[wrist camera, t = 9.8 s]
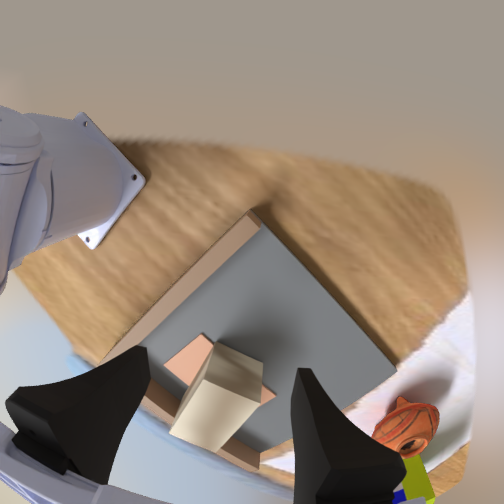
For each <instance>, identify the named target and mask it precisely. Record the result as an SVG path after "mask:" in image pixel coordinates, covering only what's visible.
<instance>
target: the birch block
mask: <svg viewBox="0 0 504 504" xmlns="http://www.w3.org/2000/svg"><path fill="white" fill-rule="evenodd" d="M262 375H263V363H262V362H260V361H257V360H255V359H253V358H251V357H248V356H246V355H244V354H242V353H240V352H238V351H236V350H234V349H231V348H229V347H227V346H225V345H223V344H221V343H219V342H217V341H216V342H215V344H214V345H213V347H212V349H211V350H210V352H209V354H208V355H207V357H206V359H205V360H204V362H203V364H202V365H201V367H200V369H199V371H198V372H197V374H196V376H195V377H194V379H193V381H192V382H191V384H190V386H189V387H188V389H187V391H186V392H185V394H184V396H183V398H182V400H181V403H180V405H179V408H178V411H177V413H176V416H175V418H174V421H173V424H172V426H171V429H170V432H169V434H171V435H174V436H176V437H178V438H180V439H183V440H185V441H187V442H190V443H192V444H195V445H197V446H200V447H202V448H205V449H207V450H210V451H213V452H215V453H216V452H217V451H218V450H219V449H220V448H221V447H222V446H223V445H224V444H225V442H226V441H227V440H228V439H229V438H230V437H231V436H232V435H233V434H234V433H235V432H236V431H237V430H238V429H239V428H240V426H241V425H242V424H243V423H244V422H245V421H246V420H247V419H248V418H249V416H250V415H251V414H252V413H253V412H254V411H255V410H256V409H257V407H258V406H259V405H260V404H261V391H262Z"/></svg>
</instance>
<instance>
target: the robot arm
mask: <svg viewBox="0 0 504 504" xmlns="http://www.w3.org/2000/svg"><path fill="white" fill-rule="evenodd" d="M86 122H88V124H87V126H86ZM135 174H136V175H137V179H136V180H134V179H133V176H134V175H135ZM145 183H146V180H145V178H144V176H143V175H142V174H141V173H140V172H139V171H138V170H137V169H136V168H135V167H134V166H133V165H132V164H131V162H130V161H129V160H128V159H127V158H126V157H125V156H124V155H123V154H122V153H121V152H120V151H119V150H118V149H117V147H116V146H115V145H114V144H113V143H112V142H111V141H110V140H109V139H108V138H107V137H106V136H105V135H104V133H103V132H102V131H101V130H100V129H99V128H98V127H97V126H96V125H95V124H94V123H93V121H92V120H91V119H90V118H89V117H88V116H87V115H86V114H85V113H84V112H80V113H78V114H77V115H76V117H75V118H74V120H70V119H65V118H59V117H54V116H47V115H41V114H34V113H27V114H21V113H19V112H17V111H15V110H12V109H10V108H7V107H4V106H0V295H1V294H2V293H3V291H4V289H5V286H6V283H7V276H8V271H9V270H11V269H13V268H15V267H18V266H20V265H21V263H22V260H23V258H24V257H25V256H26V255H28V254H30V253H32V252H35V251H37V250H39V249H42V248H44V247H47V246H49V245H52V244H54V243H57V242H59V241H62V240H64V239H67V238H69V237H72V236H75V235H77V234H78V235H79V236H80V238H81V239H82V240H83V241H84V242H85V244H86V245H87V246H88V247H89V248H90V249H95V248H97V246H98V245H99V244H100V242H101V241H102V239H103V238H104V237H105V235H106V234H107V233H108V231H109V230H110V228H111V227H112V226H113V224H114V223H115V222H116V220H117V219H118V218H119V217H120V215H121V214H122V213H123V211H124V210H125V209H126V208H127V206H128V205H129V204H130V203H131V201H132V200H133V199H134V198H135V196H136V195H137V194H138V193H139V191H140V190H141V189H142V188H143V187H144V185H145ZM88 237H89V238H90V241H89V240H88ZM150 380H151V375H150V368H149V361H148V353H147V347H143V346H138V345H135V346H133V347H131V348H130V349H128V350H126V351H125V352H123V353H121V354H120V355H118V356H116V357H115V358H113V359H111V360H109V361H108V362H106V363H104V364H102V365H100V366H98V367H96V368H94V369H92V370H90V371H88V372H86V373H84V374H81V375H79V376H76V377H73V378H71V379H67V380H64V381H60V382H56V383H52V384H45V385H39V386H25V387H18V389H17V390H16V391H15V392H14V393H13V394H12V395H11V396H10V397H9V398H8V399H7V400H6V402H5V405H6V409H7V411H8V413H9V415H10V417H11V418H12V420H13V422H14V423H15V425H16V427H17V428H18V430H19V431H18V432H17V434H15V433H14V432H13V431H12V430H11V429H10V428H8V427H7V426H6V425H4V424H3V423H1V422H0V480H1V481H3V482H4V483H5V484H6V485H7V486H9V487H10V488H11V489H13V490H14V491H15V492H17V493H18V494H19V495H20V496H22V497H23V498H24V499H26V500H27V501H29V502H30V503H31V504H171V503H167V502H163V501H160V500H156V499H152V498H149V497H146V496H142V495H139V494H136V493H133V492H130V491H127V490H124V489H121V488H118V487H115V486H112V485H108V480H109V476H110V472H111V469H112V465H113V462H114V458H115V456H116V453H117V450H118V447H119V444H120V442H121V439H122V437H123V434H124V432H125V430H126V428H127V426H128V424H129V422H130V420H131V419H132V417H133V415H134V413H135V412H136V410H137V408H138V406H139V405H140V403H141V401H142V399H143V397H144V396H145V393H146V391H147V388H148V386H149V383H150ZM290 417H291V426H292V434H293V443H294V452H295V485H294V503H293V504H393V502H392V500H393V499H394V498H395V495H394V492H393V491H394V490H395V488H396V487H397V486H398V485H399V484H400V483H401V482H402V481H403V479H404V478H405V476H406V474H407V470H406V467H405V464H404V461H403V459H402V457H401V455H400V453H399V452H397V451H395V450H392V449H390V448H388V447H386V446H384V445H383V444H381V443H379V442H378V441H376V440H374V439H373V438H371V437H370V436H368V435H367V434H366V433H364V432H363V431H362V430H360V429H359V428H358V427H357V426H355V425H354V424H353V423H352V422H351V421H350V420H349V419H348V418H347V417H346V416H345V415H344V414H343V413H342V412H341V411H340V410H339V408H338V407H337V406H336V405H335V404H334V402H333V401H332V400H331V398H330V397H329V396H328V394H327V393H326V391H325V390H324V389H323V387H322V386H321V384H320V382H319V381H318V379H317V377H316V376H315V374H314V372H313V371H312V369H311V368H297V373H296V377H295V382H294V386H293V391H292V395H291V409H290ZM398 504H426V501H425V498H424V497H419V498H415V499H412V500H408V501H404V502H400V503H398Z"/></svg>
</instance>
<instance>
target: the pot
mask: <svg viewBox="0 0 504 504" xmlns="http://www.w3.org/2000/svg"><path fill="white" fill-rule="evenodd" d="M438 425H439V411H438V409H437V408H436V407H435V406H432V405H430V404H425V403H409V402H408V401H407V400H406V399H405V398H403V397H398V399H397V407H396V409H395V410H394V411H392V412H391V413H389V414H388V415H387V416H386V417H385V418H384V419H383V420H382V421H381V422H380V423H379V424H378V425H376V426H375V430H374V432H373V434H372V437H371V438H373V439H374V440H376V441H378V442H379V443H381V444H383V445H384V446H386V447H388V448H390V449H392V450H395V451H397V452H399V453H400V455H401V457H402V459H408V458H411V457H414V456H416V455H418V454H419V453H421V452H422V451H423V450H424V449H425V448H426V446H427V445H428V444H429V442H430V441H431V439H432V438H433V436H434V435H435V433H436V431H437V428H438Z"/></svg>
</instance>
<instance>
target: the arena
mask: <svg viewBox="0 0 504 504" xmlns="http://www.w3.org/2000/svg"><path fill="white" fill-rule="evenodd" d="M216 341H217V342H219V343H221V344H223V345H225V346H227V347H229V348H231V349H234V350H236V351H238V352H240V353H242V354H244V355H246V356H248V357H251V358H253V359H255V360H257V361H260V362H262V363H263V375H262V391H261V404H260V405H259V406H258V407H257V409H256V410H255V411H254V412H253V413H252V414H251V415H250V416H249V418H248V419H247V420H246V421H245V422H244V423H243V424H242V425H241V426H240V428H239V429H238V430H237V431H236V432H235V433H234V434H233V435H232V436H231V437H230V438H229V439H228V440H227V441H226V442H225V444H224V445H223V446H222V447H221V448H220V449H219V450H218V451H217V452H216V454H218V455H219V456H221V457H223V458H225V459H227V460H228V461H230V462H232V463H234V464H236V465H238V466H239V467H241V468H243V469H245V470H247V471H249V472H254V471H256V470H259V463H260V453H261V452H264V451H266V450H268V449H270V448H272V447H274V446H277V445H279V444H281V443H283V442H285V441H287V440H289V439H291V438H293V434H292V426H291V417H290V409H291V395H292V391H293V386H294V382H295V377H296V373H297V368H311V369H312V371H313V372H314V374H315V376H316V377H317V379H318V381H319V382H320V384H321V386H322V387H323V389H324V390H325V391H326V393H327V394H328V396H329V397H330V398H331V400H332V401H333V402H334V404H335V405H336V406H337V407H338V408H339V410H340V411H341V410H342V409H344V408H346V407H347V406H349V405H350V404H352V403H353V402H355V401H356V400H358V399H359V398H361V397H362V396H364V395H365V394H367V393H368V392H370V391H371V390H373V389H374V388H375V387H377V386H378V385H380V384H381V383H382V382H384V381H385V380H387V379H388V378H389V377H391V376H392V375H393V374H395V373H396V372H397V369H396V367H395V366H394V365H393V363H392V362H391V361H390V360H389V359H388V358H387V357H386V355H385V354H384V353H383V352H382V351H381V350H380V349H379V347H378V346H377V345H376V344H375V343H374V342H373V341H372V339H371V338H370V337H369V336H368V335H367V334H366V333H365V332H364V330H363V329H362V328H361V327H360V326H359V325H358V324H357V323H356V321H355V320H354V319H353V318H352V317H351V316H350V315H349V314H348V313H347V311H346V310H345V309H344V308H343V307H342V306H341V305H340V304H339V303H338V301H337V300H336V299H335V298H334V297H333V296H332V295H331V294H330V293H329V292H328V291H327V289H326V288H325V287H324V286H323V285H322V284H321V283H320V282H319V281H318V280H317V279H316V277H315V276H314V275H313V274H312V273H311V272H310V271H309V270H308V269H307V268H306V267H305V266H304V265H303V263H302V262H301V261H300V260H299V259H298V258H297V257H296V256H295V255H294V254H293V253H292V252H291V251H290V250H289V249H288V248H287V246H286V245H285V244H284V243H283V242H282V241H281V240H280V239H279V238H278V237H277V236H276V235H275V234H274V233H273V232H272V231H271V230H270V229H269V228H268V226H267V225H266V224H265V223H264V222H263V221H262V220H261V219H260V218H259V217H258V216H257V215H256V214H255V213H254V212H253V211H252V210H251V209H249V210H248V211H247V212H246V213H245V214H244V215H243V216H242V217H241V218H240V219H239V220H238V221H237V222H236V223H235V224H234V225H233V226H232V227H231V228H230V229H229V230H228V231H227V232H225V233H224V234H223V235H222V236H221V237H220V238H219V239H218V240H217V241H216V242H215V243H214V244H213V245H212V246H211V247H210V248H209V249H208V250H207V251H206V252H205V253H204V254H203V255H202V256H201V257H200V258H199V259H198V260H197V261H196V262H195V263H194V264H193V265H192V266H191V267H190V268H189V269H188V270H187V271H186V272H185V273H184V274H183V275H182V276H181V277H180V278H179V279H178V280H177V281H176V282H175V283H174V284H173V285H172V286H171V287H170V288H169V289H168V290H167V291H166V292H165V293H164V294H163V295H162V296H161V297H160V298H159V299H158V300H157V301H156V302H155V303H154V304H153V305H152V307H151V308H150V309H149V310H148V311H147V312H146V313H145V314H144V315H143V316H142V317H141V318H140V319H139V320H138V321H137V322H136V323H135V324H134V325H133V326H132V327H131V328H130V329H129V331H128V332H127V333H126V334H125V335H124V336H123V337H122V338H121V339H120V340H119V341H118V342H117V343H116V344H115V345H114V346H113V348H112V349H111V350H110V351H109V352H108V354H107V355H106V356H105V357H104V358H103V360H102V361H101V362H100V363H99V364H98V366H100V365H102V364H104V363H106V362H108V361H109V360H111V359H113V358H115V357H116V356H118V355H120V354H121V353H123V352H125V351H126V350H128V349H130V348H131V347H133V346H135V345H138V346H143V347H147V353H148V361H149V368H150V375H151V380H150V383H149V386H148V388H147V391H146V393H145V396H144V397H143V399H142V401H141V403H143V404H144V405H145V406H146V407H148V408H149V409H150V410H152V411H153V412H154V413H156V414H157V415H158V416H160V417H161V418H162V419H164V420H165V421H167V422H168V423H169V424H171V425H172V424H173V421H174V418H175V416H176V413H177V411H178V408H179V405H180V403H181V400H182V398H183V396H184V394H185V392H186V391H187V389H188V387H189V386H190V384H191V382H192V381H193V379H194V377H195V376H196V374H197V372H198V371H199V369H200V367H201V365H202V364H203V362H204V360H205V359H206V357H207V355H208V354H209V352H210V350H211V349H212V347H213V345H214V344H215V342H216ZM214 453H215V452H214Z"/></svg>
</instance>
